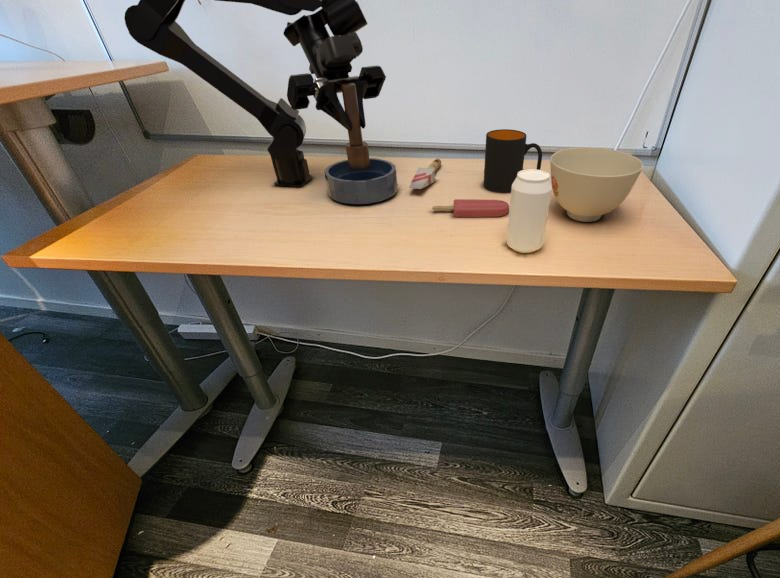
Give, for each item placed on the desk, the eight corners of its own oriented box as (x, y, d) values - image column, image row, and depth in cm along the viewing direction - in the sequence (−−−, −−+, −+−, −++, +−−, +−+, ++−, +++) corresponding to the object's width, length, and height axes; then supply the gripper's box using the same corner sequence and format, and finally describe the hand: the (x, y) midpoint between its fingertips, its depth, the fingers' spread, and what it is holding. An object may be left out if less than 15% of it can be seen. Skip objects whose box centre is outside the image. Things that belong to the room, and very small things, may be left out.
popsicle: (432, 198, 83) (507, 198, 83) (433, 206, 84) (507, 206, 84) (431, 209, 79) (510, 209, 79) (432, 217, 80) (509, 217, 80)
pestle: (345, 168, 84) (332, 86, 74) (353, 161, 87) (341, 81, 77) (366, 169, 83) (355, 87, 73) (373, 162, 86) (363, 82, 77)
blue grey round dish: (318, 204, 85) (313, 179, 81) (343, 179, 95) (339, 156, 92) (387, 209, 83) (384, 183, 80) (404, 183, 94) (403, 159, 90)
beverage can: (501, 252, 70) (508, 178, 62) (510, 236, 74) (518, 165, 66) (538, 258, 68) (550, 183, 60) (545, 241, 72) (557, 170, 64)
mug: (537, 195, 88) (544, 142, 81) (481, 191, 90) (483, 139, 83) (538, 181, 94) (545, 131, 87) (485, 178, 96) (488, 128, 89)
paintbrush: (405, 180, 86) (430, 155, 101) (406, 193, 88) (430, 167, 103) (423, 181, 85) (445, 156, 100) (423, 195, 87) (445, 168, 102)
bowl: (632, 236, 74) (650, 178, 67) (541, 230, 76) (550, 173, 69) (621, 201, 85) (636, 149, 78) (542, 196, 87) (550, 145, 81)
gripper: (274, 15, 67) (318, 106, 68) (374, 11, 75) (412, 92, 76) (271, 68, 77) (309, 147, 78) (360, 59, 85) (393, 130, 86)
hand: (357, 128), depth 79 cm, fingers closed on pestle, 2 cm apart
